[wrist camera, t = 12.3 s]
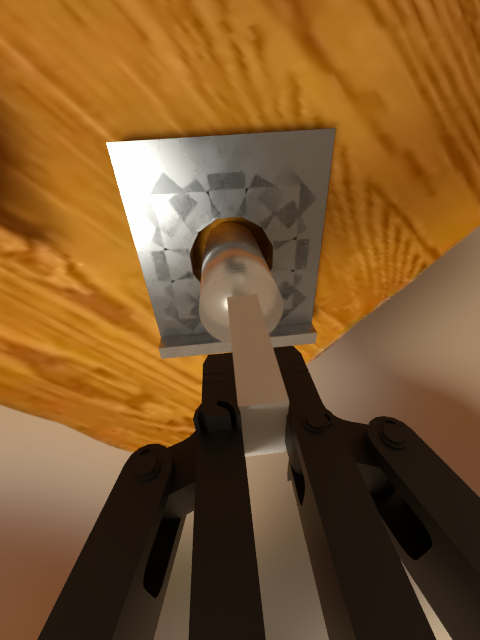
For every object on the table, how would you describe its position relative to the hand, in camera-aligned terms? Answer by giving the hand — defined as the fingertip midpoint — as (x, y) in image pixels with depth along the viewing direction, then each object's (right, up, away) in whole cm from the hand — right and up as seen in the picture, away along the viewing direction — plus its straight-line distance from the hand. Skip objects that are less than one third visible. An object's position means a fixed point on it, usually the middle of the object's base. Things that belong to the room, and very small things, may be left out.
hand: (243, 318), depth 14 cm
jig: (-1, +6, +9) cm, 11 cm away
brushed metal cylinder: (-1, +6, +9) cm, 11 cm away
